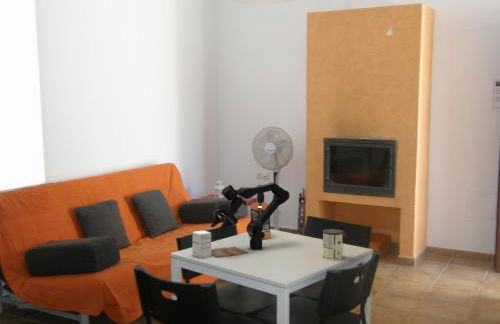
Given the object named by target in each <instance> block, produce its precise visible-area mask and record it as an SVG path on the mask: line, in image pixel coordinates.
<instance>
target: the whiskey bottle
mask: <svg viewBox="0 0 500 324" xmlns="http://www.w3.org/2000/svg"><path fill="white" fill-rule="evenodd" d="M260 185H261V184H258V185H257V186H260ZM265 198H266V197H265V192H264V193H260V194H256V202H254V203H252V204H251V205H250V221H251V220H252V219H253V220H256V219H257V218H258V217H259V216H260V215H261V213H262V212H263V211H264V210H265V209H266V207H267V206H268V205H269V204H270V203H267V202H266V201H265ZM262 232H263V233H264V234H265V237H264V238H262V241H264V240H265V239H266V240H267V239H272V231H271V216H270V217H269V219H268V220H267V221H266V222H265V223H264V226H263V230H262ZM248 236H249V235H248ZM249 238H250V239H251V236H249Z"/></svg>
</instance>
